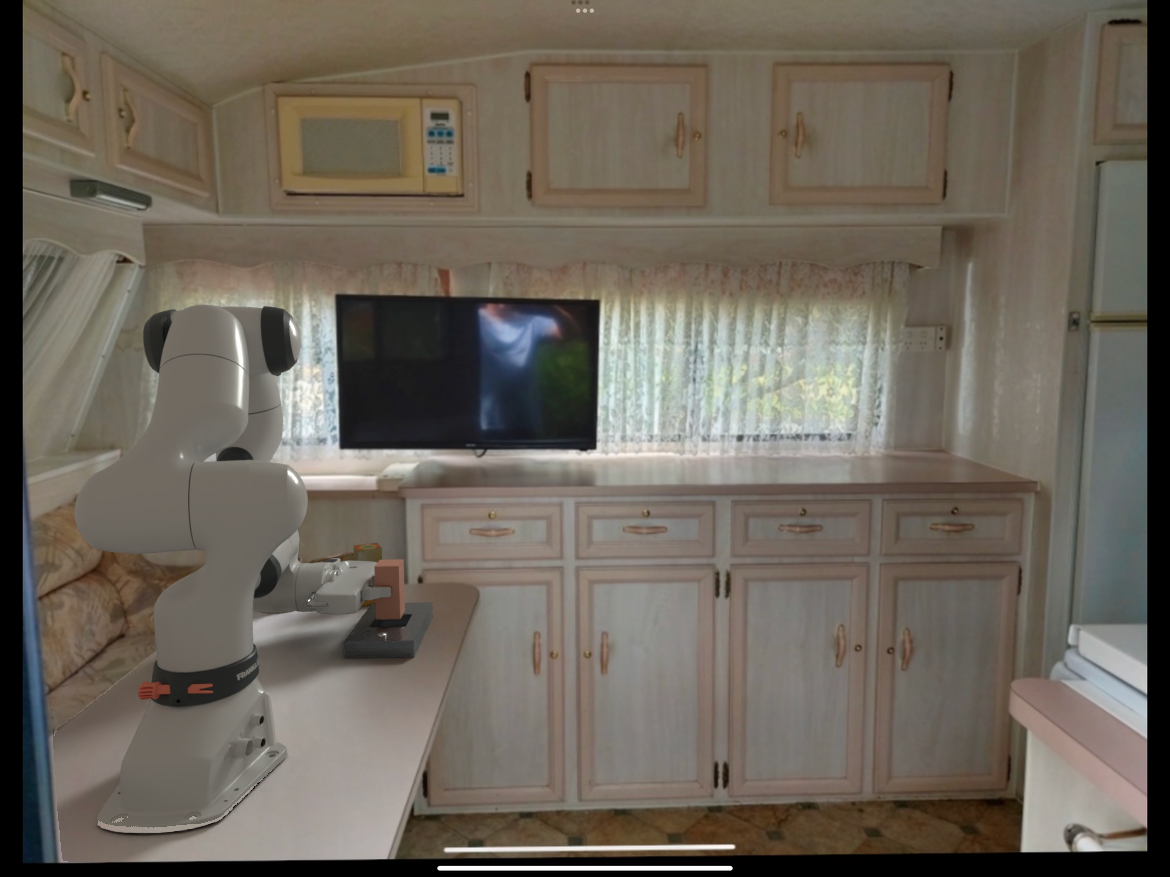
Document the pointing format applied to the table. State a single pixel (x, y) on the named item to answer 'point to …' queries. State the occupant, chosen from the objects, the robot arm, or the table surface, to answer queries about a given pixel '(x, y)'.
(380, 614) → the square peg
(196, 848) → the table surface
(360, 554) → the shoe polish box
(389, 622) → the block with square hole
